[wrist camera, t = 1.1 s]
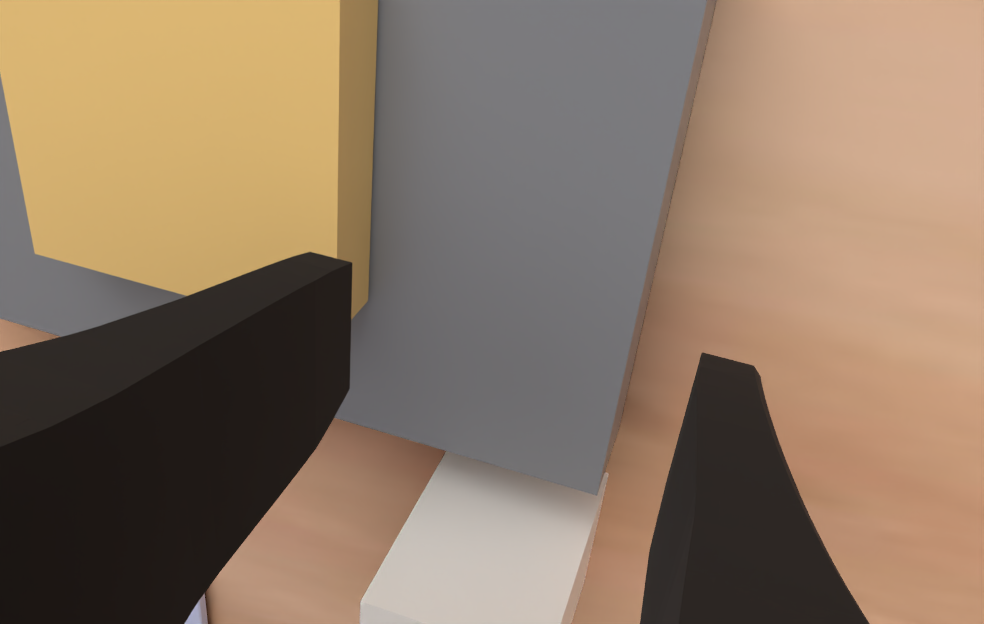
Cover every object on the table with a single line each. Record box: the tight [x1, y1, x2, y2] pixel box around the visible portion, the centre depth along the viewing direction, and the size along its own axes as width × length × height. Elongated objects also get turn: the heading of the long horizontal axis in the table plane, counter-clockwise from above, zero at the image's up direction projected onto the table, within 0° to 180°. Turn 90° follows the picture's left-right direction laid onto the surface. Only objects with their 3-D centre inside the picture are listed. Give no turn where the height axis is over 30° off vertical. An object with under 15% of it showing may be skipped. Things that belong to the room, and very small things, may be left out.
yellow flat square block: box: [0, 0, 378, 320], centre depth 17 cm, size 7×7×2 cm
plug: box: [360, 451, 609, 624], centre depth 22 cm, size 4×4×6 cm
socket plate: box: [0, 0, 716, 496], centre depth 20 cm, size 12×18×2 cm, turn 84°
